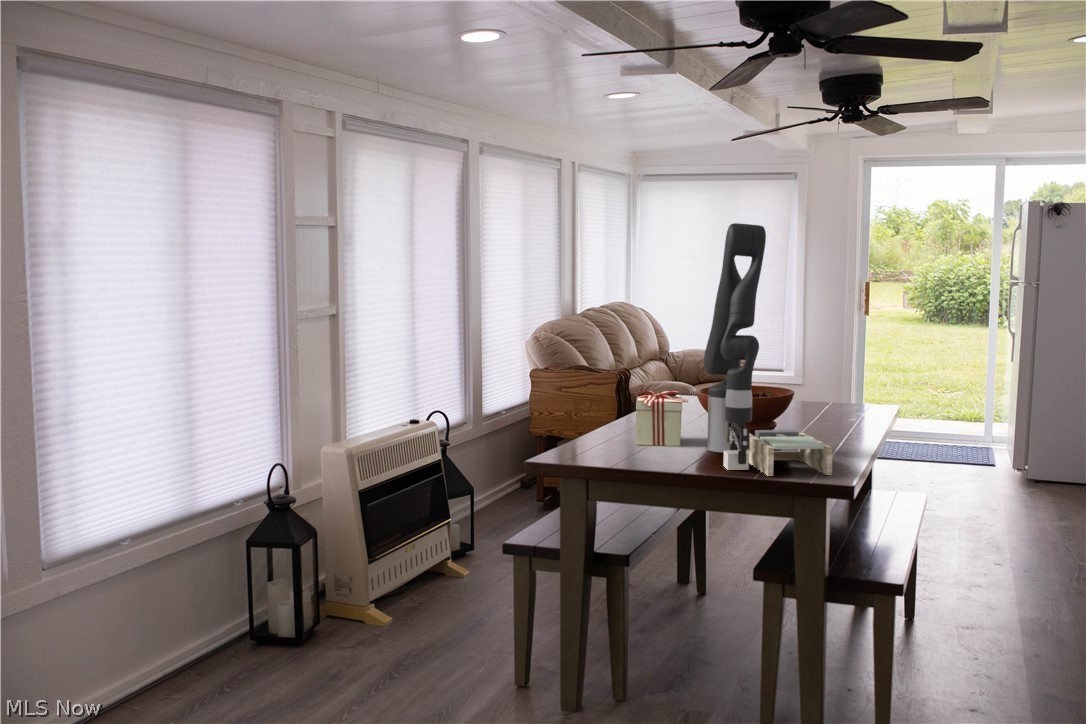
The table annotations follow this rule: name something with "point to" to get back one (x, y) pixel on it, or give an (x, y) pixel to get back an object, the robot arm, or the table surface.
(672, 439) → the gift box
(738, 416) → the robot arm
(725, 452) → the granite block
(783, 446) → the trapdoor
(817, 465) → the stand
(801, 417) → the table surface
